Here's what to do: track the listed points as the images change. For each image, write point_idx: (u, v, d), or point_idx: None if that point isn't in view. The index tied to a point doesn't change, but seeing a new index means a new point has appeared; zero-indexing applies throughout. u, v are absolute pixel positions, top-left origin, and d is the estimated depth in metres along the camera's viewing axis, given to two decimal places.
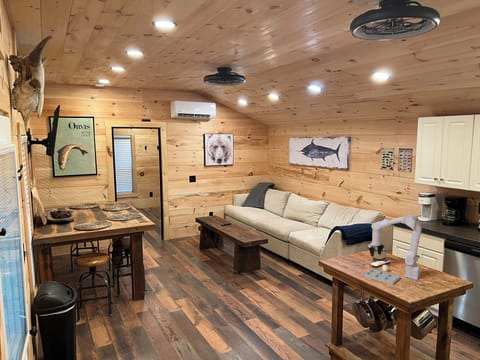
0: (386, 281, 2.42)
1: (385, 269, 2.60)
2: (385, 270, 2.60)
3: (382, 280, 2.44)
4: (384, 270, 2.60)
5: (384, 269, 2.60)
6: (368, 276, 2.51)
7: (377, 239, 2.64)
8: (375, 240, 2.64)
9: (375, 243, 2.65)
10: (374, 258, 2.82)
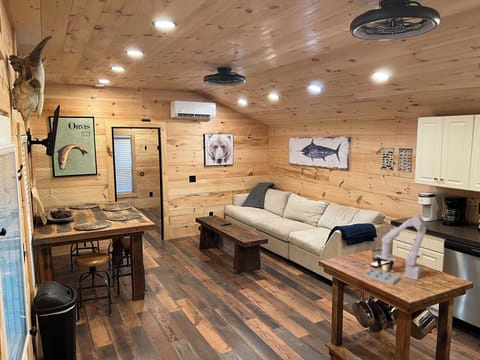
0: (386, 281, 2.42)
1: (385, 269, 2.60)
2: (385, 270, 2.60)
3: (382, 280, 2.44)
4: (384, 270, 2.60)
5: (384, 269, 2.60)
6: (368, 276, 2.51)
7: (382, 252, 2.60)
8: None
9: (381, 255, 2.61)
10: (374, 258, 2.82)
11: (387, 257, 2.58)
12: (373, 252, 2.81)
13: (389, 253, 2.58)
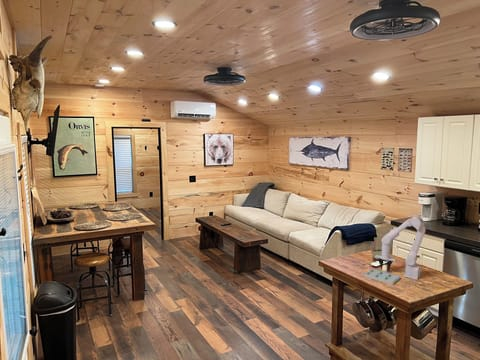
0: (386, 281, 2.42)
1: (385, 269, 2.60)
2: (385, 270, 2.60)
3: (382, 280, 2.44)
4: (384, 270, 2.60)
5: (384, 269, 2.60)
6: (368, 276, 2.51)
7: (382, 252, 2.60)
8: None
9: (381, 256, 2.61)
10: (374, 258, 2.82)
11: (387, 257, 2.58)
12: (373, 252, 2.81)
13: (389, 253, 2.58)
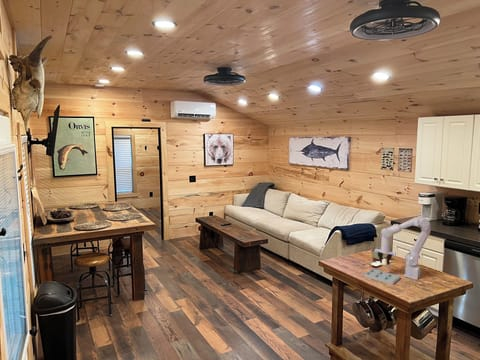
0: (386, 281, 2.42)
1: (385, 263, 2.53)
2: (385, 264, 2.53)
3: (382, 280, 2.44)
4: (384, 264, 2.53)
5: (384, 263, 2.53)
6: (368, 276, 2.51)
7: (382, 246, 2.52)
8: (381, 246, 2.54)
9: (381, 249, 2.54)
10: (374, 258, 2.82)
11: (387, 251, 2.51)
12: (373, 252, 2.81)
13: (389, 247, 2.51)
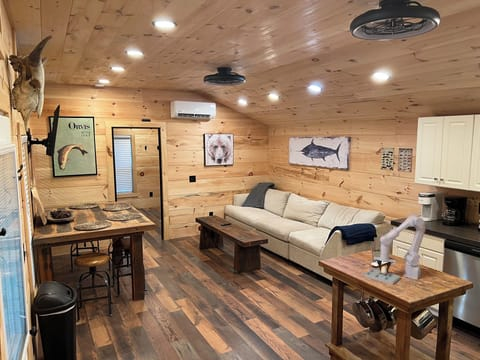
0: (386, 281, 2.42)
1: (385, 270, 2.51)
2: (385, 272, 2.51)
3: (382, 280, 2.44)
4: (384, 272, 2.51)
5: (384, 271, 2.51)
6: (368, 276, 2.51)
7: (382, 254, 2.50)
8: (380, 254, 2.51)
9: (380, 257, 2.51)
10: None
11: (387, 259, 2.49)
12: (373, 252, 2.81)
13: (388, 255, 2.49)
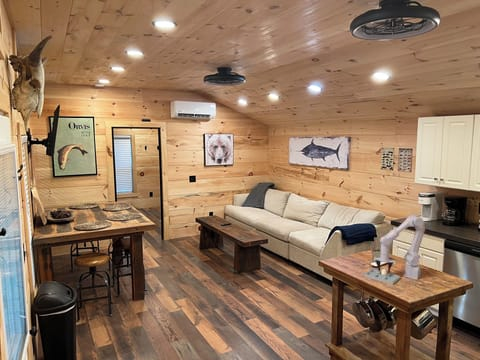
0: (386, 281, 2.42)
1: (385, 273, 2.51)
2: (385, 274, 2.51)
3: (382, 280, 2.44)
4: (384, 274, 2.51)
5: (384, 273, 2.51)
6: (368, 276, 2.51)
7: (382, 254, 2.50)
8: (380, 255, 2.51)
9: (380, 258, 2.51)
10: None
11: (387, 259, 2.49)
12: (373, 252, 2.81)
13: (388, 255, 2.49)
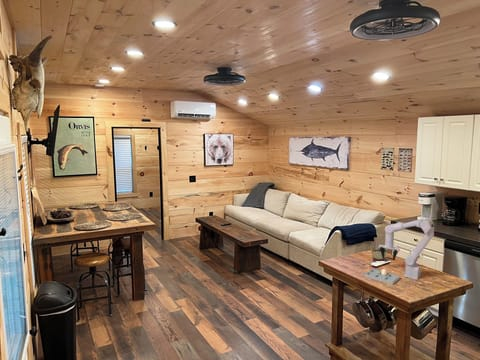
0: (386, 281, 2.42)
1: (385, 273, 2.51)
2: (385, 274, 2.51)
3: (382, 280, 2.44)
4: (384, 274, 2.51)
5: (384, 273, 2.51)
6: (368, 276, 2.51)
7: (386, 241, 2.59)
8: (385, 242, 2.61)
9: (385, 245, 2.61)
10: (374, 258, 2.82)
11: (391, 246, 2.58)
12: (373, 252, 2.81)
13: (393, 242, 2.58)
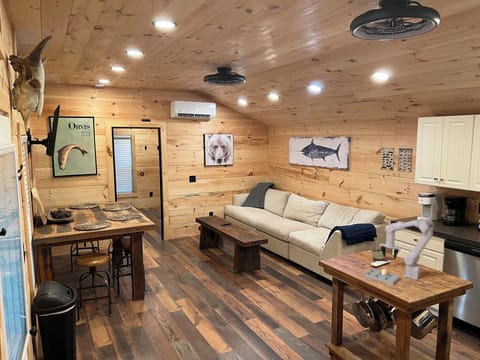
0: (386, 281, 2.42)
1: (385, 273, 2.51)
2: (385, 274, 2.51)
3: (382, 280, 2.44)
4: (384, 274, 2.51)
5: (384, 273, 2.51)
6: (368, 276, 2.51)
7: (387, 240, 2.61)
8: (386, 241, 2.63)
9: (386, 244, 2.63)
10: (374, 258, 2.82)
11: (392, 246, 2.60)
12: (373, 252, 2.81)
13: (393, 242, 2.60)
